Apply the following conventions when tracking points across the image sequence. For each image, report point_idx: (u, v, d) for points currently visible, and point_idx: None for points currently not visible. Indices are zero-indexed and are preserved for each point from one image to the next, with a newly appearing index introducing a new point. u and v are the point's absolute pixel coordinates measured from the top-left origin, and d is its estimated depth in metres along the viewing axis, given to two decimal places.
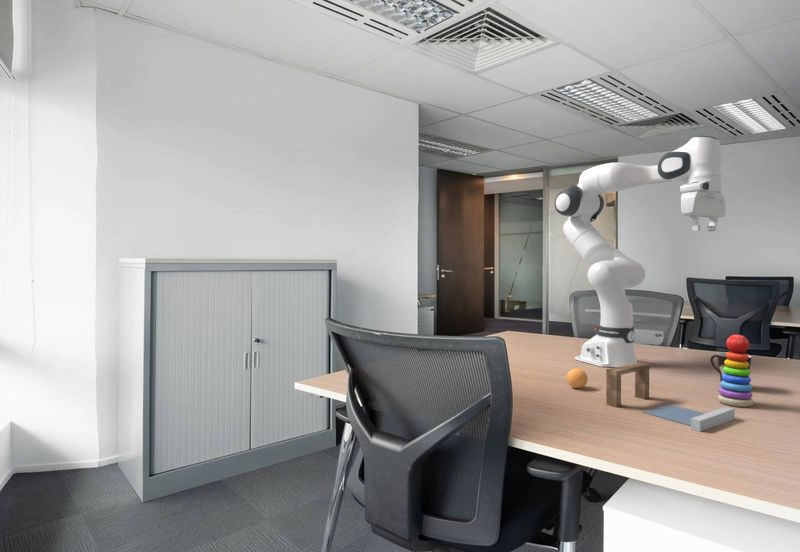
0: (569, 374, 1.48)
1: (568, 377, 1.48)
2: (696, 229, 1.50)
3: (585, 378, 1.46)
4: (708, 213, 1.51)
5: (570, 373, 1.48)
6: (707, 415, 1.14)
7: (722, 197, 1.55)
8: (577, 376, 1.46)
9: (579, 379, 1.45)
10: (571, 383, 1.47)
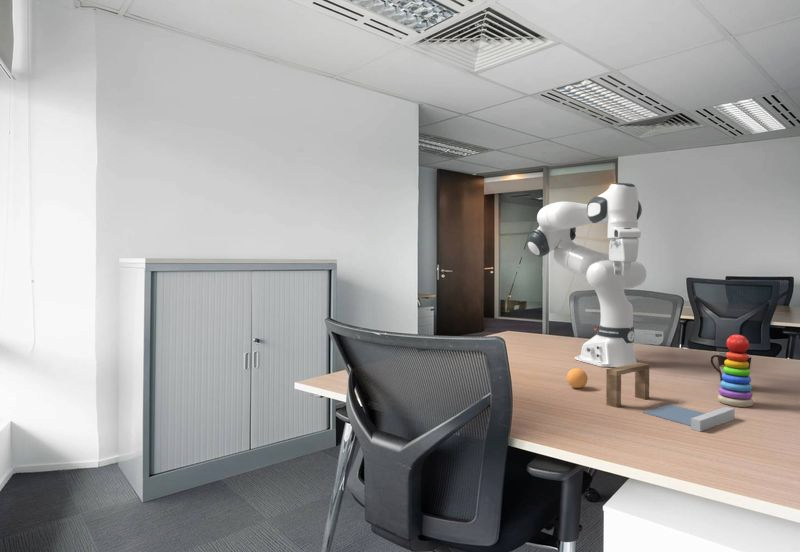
0: (569, 374, 1.48)
1: (568, 377, 1.48)
2: (627, 275, 1.51)
3: (585, 378, 1.46)
4: None
5: (570, 373, 1.48)
6: (707, 415, 1.14)
7: None
8: (577, 376, 1.46)
9: (579, 379, 1.45)
10: (571, 383, 1.47)
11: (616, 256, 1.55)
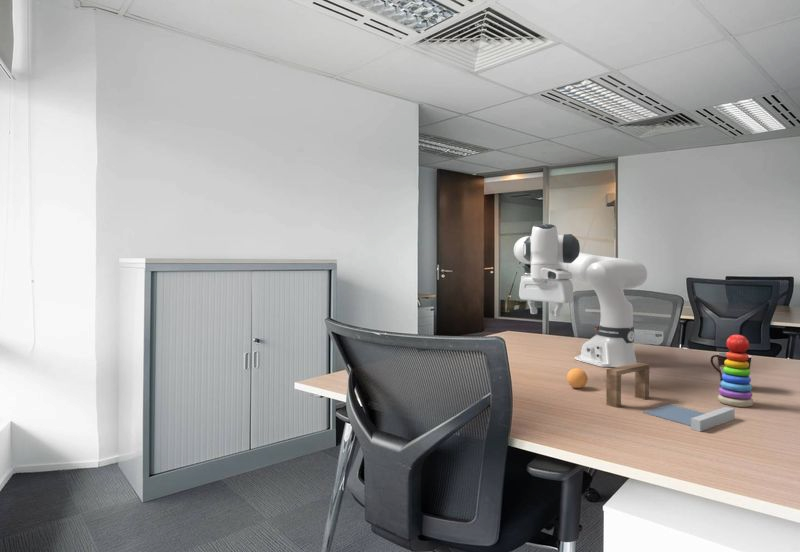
0: (569, 374, 1.48)
1: (568, 377, 1.48)
2: (558, 315, 1.54)
3: (585, 378, 1.46)
4: None
5: (570, 373, 1.48)
6: (707, 415, 1.14)
7: None
8: (577, 376, 1.46)
9: (579, 379, 1.45)
10: (571, 383, 1.47)
11: (542, 296, 1.57)
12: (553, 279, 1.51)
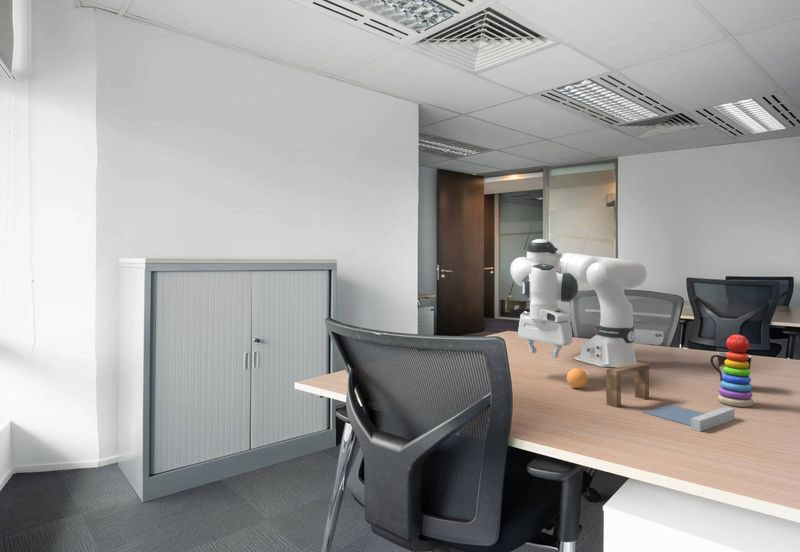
0: (569, 374, 1.48)
1: (568, 377, 1.48)
2: (557, 356, 1.55)
3: (585, 378, 1.46)
4: None
5: (570, 373, 1.48)
6: (707, 415, 1.14)
7: None
8: (577, 376, 1.46)
9: (579, 379, 1.45)
10: (571, 383, 1.47)
11: (541, 337, 1.58)
12: (552, 321, 1.52)
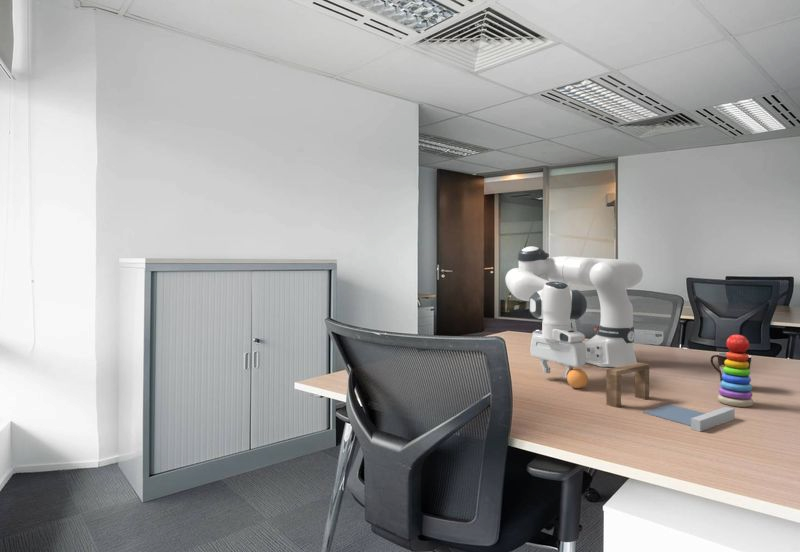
0: (569, 374, 1.48)
1: (568, 377, 1.48)
2: None
3: (585, 379, 1.46)
4: None
5: (570, 373, 1.47)
6: (707, 415, 1.14)
7: None
8: (577, 376, 1.46)
9: (580, 380, 1.45)
10: (571, 383, 1.47)
11: (554, 357, 1.53)
12: (565, 342, 1.47)
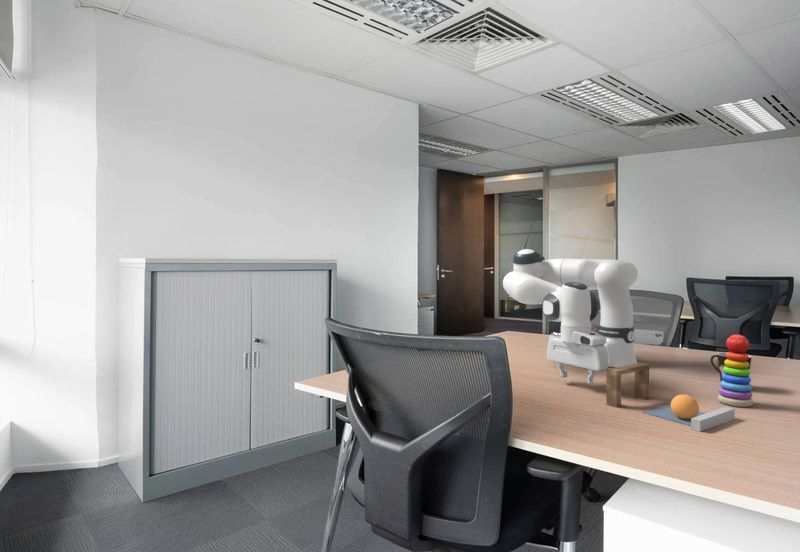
0: (673, 410, 1.19)
1: (676, 412, 1.18)
2: (591, 382, 1.44)
3: None
4: None
5: (672, 408, 1.19)
6: (707, 415, 1.14)
7: None
8: (675, 400, 1.18)
9: (680, 398, 1.18)
10: (683, 410, 1.16)
11: (574, 361, 1.47)
12: (587, 345, 1.41)
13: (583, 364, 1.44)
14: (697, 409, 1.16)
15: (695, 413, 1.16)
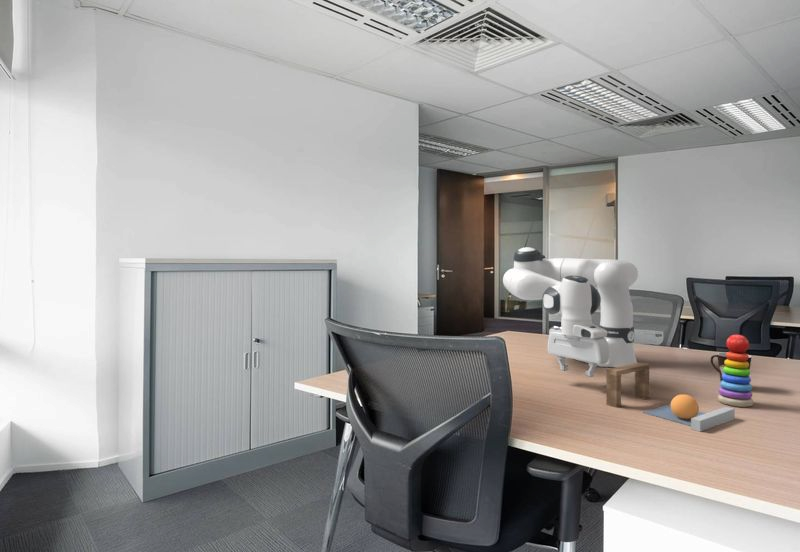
0: (673, 410, 1.19)
1: (676, 412, 1.18)
2: (592, 375, 1.44)
3: None
4: None
5: (672, 408, 1.19)
6: (707, 415, 1.14)
7: None
8: (675, 400, 1.19)
9: (680, 398, 1.18)
10: (683, 410, 1.16)
11: (574, 354, 1.47)
12: (587, 338, 1.41)
13: (584, 357, 1.44)
14: (697, 409, 1.16)
15: (695, 413, 1.16)
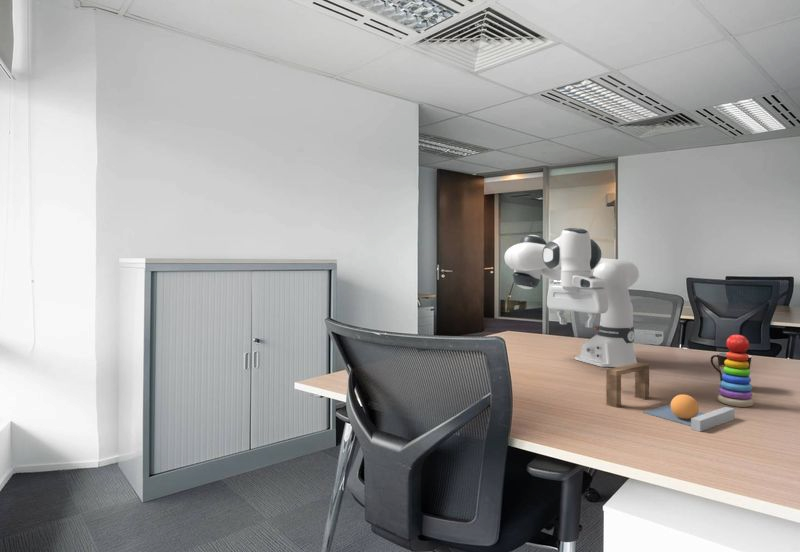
0: (673, 410, 1.19)
1: (676, 412, 1.18)
2: (591, 326, 1.44)
3: None
4: None
5: (672, 408, 1.19)
6: (707, 415, 1.14)
7: None
8: (675, 400, 1.19)
9: (680, 398, 1.18)
10: (683, 410, 1.16)
11: (574, 306, 1.46)
12: (586, 288, 1.41)
13: (583, 308, 1.44)
14: (697, 409, 1.16)
15: (695, 413, 1.16)
